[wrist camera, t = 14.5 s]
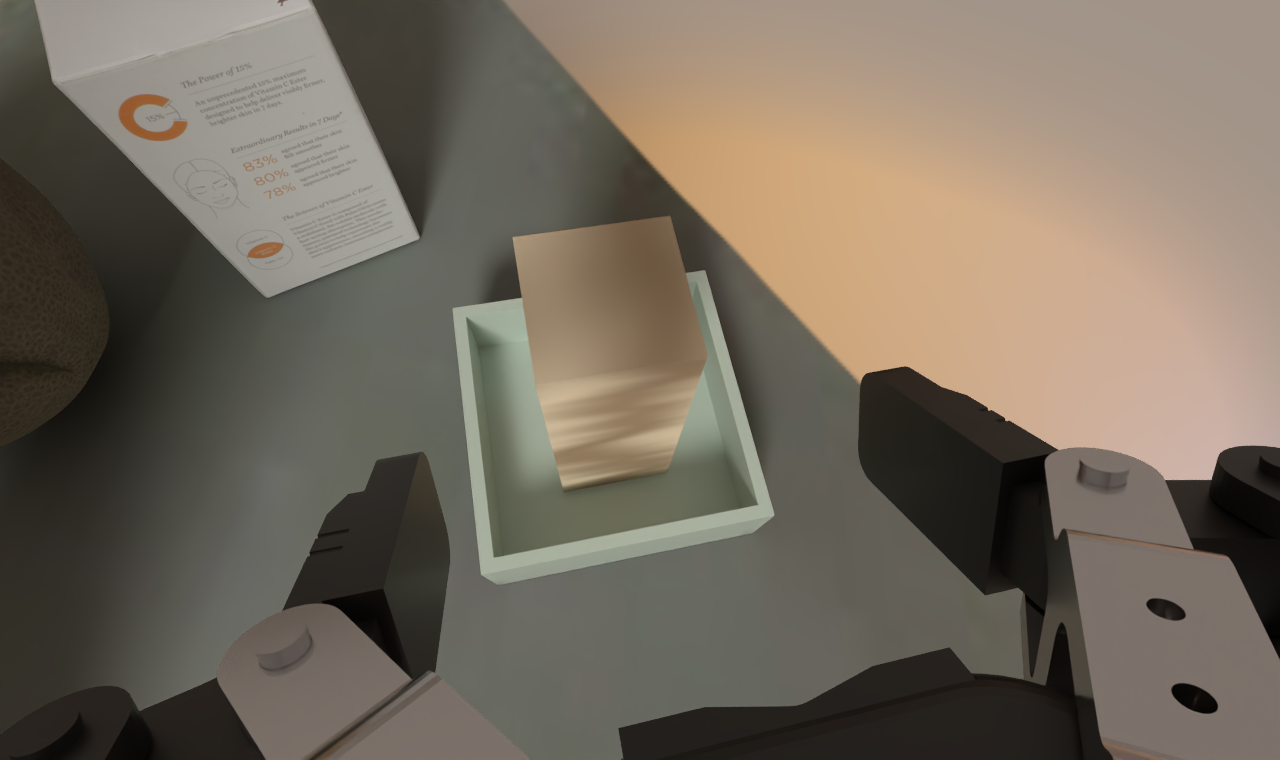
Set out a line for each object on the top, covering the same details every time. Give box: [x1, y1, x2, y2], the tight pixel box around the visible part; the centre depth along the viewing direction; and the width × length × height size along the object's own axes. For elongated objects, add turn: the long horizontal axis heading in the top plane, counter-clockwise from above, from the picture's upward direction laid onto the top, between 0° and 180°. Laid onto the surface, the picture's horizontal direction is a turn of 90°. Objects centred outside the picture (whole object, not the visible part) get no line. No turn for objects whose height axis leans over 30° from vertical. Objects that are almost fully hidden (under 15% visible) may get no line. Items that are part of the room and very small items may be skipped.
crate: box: [453, 270, 774, 585], centre depth 27 cm, size 11×11×4 cm
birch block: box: [513, 216, 708, 492], centre depth 23 cm, size 4×4×12 cm
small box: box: [34, 0, 420, 298], centre depth 27 cm, size 8×6×13 cm
